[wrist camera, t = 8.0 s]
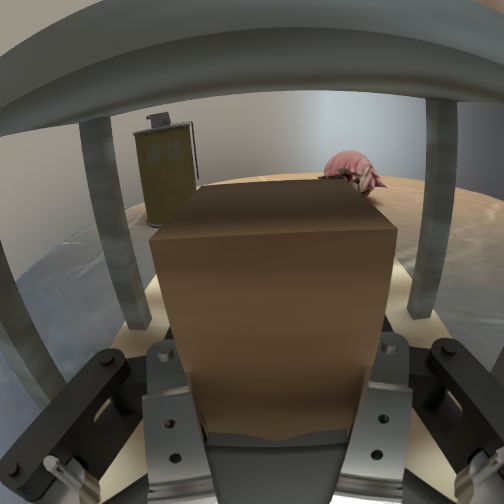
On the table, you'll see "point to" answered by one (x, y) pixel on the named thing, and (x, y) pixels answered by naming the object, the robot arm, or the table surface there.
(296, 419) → the walnut block
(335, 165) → the toy
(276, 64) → the tunnel deck
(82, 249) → the table surface
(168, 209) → the canister
